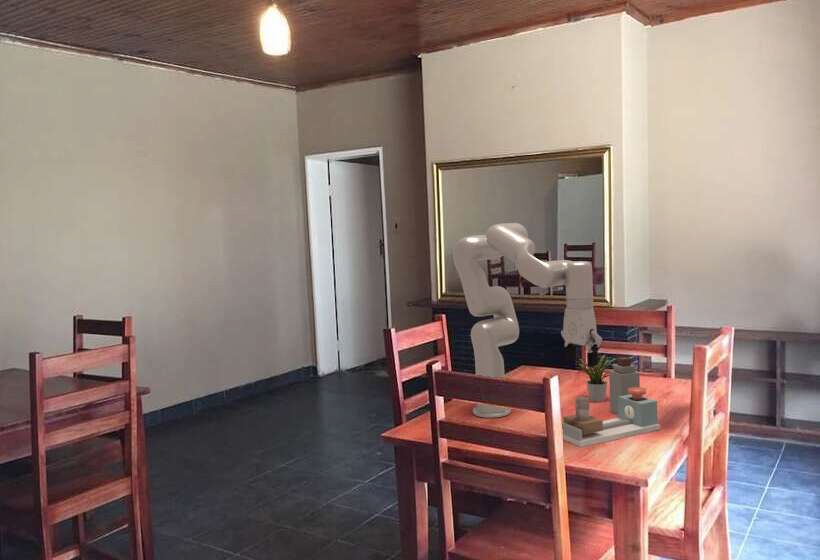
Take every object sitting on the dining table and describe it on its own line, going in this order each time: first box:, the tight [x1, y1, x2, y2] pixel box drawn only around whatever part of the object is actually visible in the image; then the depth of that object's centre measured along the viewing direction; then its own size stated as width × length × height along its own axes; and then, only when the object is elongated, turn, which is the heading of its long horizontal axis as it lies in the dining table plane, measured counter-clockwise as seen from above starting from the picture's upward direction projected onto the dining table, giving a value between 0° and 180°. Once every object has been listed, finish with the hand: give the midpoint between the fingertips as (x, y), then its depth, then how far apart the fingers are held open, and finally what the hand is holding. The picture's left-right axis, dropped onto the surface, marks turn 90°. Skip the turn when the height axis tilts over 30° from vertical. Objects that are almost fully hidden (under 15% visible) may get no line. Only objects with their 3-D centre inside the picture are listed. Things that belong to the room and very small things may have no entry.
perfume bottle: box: [608, 356, 641, 416], centre depth 220 cm, size 7×7×18 cm
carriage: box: [563, 396, 604, 435], centre depth 198 cm, size 9×7×9 cm
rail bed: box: [562, 417, 661, 448], centre depth 202 cm, size 12×29×4 cm, turn 114°
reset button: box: [628, 386, 647, 400], centre depth 206 cm, size 5×5×3 cm
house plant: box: [578, 354, 616, 403], centre depth 237 cm, size 14×14×16 cm
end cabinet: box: [618, 394, 659, 427], centre depth 206 cm, size 10×6×7 cm, turn 24°
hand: (581, 362), depth 197 cm, fingers open, 9 cm apart
